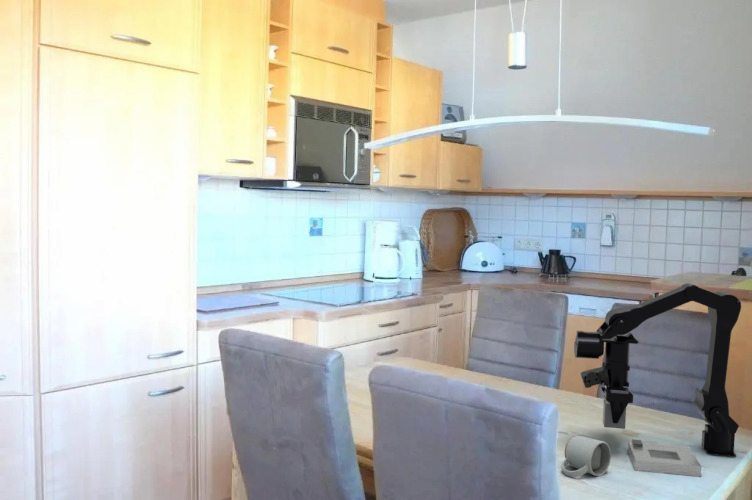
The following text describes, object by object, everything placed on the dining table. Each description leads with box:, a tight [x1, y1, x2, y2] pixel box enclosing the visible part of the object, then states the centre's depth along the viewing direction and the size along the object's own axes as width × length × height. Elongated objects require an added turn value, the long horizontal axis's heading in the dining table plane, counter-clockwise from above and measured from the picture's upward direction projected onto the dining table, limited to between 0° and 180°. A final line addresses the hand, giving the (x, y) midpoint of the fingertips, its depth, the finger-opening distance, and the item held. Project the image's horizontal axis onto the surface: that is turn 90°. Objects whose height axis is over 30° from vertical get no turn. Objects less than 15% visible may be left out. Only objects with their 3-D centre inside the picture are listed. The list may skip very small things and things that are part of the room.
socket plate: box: [627, 439, 702, 478], centre depth 166 cm, size 14×13×3 cm
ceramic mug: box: [561, 435, 612, 478], centre depth 159 cm, size 11×8×8 cm
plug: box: [602, 398, 627, 430], centre depth 177 cm, size 5×4×7 cm
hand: (614, 420), depth 177 cm, fingers closed on plug, 4 cm apart
